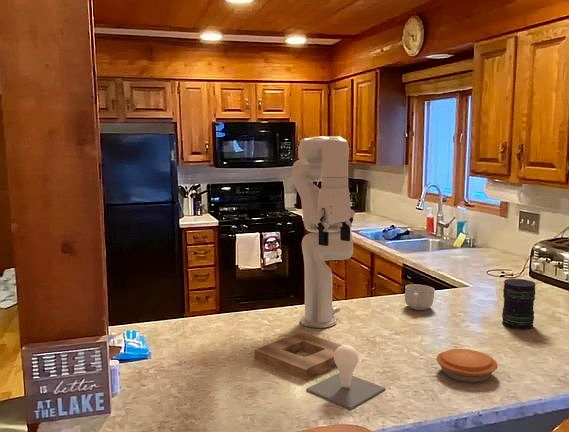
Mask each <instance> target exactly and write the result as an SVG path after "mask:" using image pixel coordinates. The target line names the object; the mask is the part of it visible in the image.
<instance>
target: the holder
mask: <svg viewBox="0 0 569 432" xmlns="http://www.w3.org/2000/svg"><path fill="white" fill-rule="evenodd" d="M342 345H343V344H340V343H337V342H334V341H331V340H327V339H325V338H322V337H319V336H317V335H313V334H309V333H306V332H303V331H301V332H299V333H296V334H293V335H289V336H287V337H284V338H282V339H278V340H276V341H273V342H271V343H269V344H266V345H263V346H260V347H257V348H255V349H253V351H254V355H253V356H254V360H255V361H258V362H259V363H261V364H262V363H263V364H264V365H267V366H270V367H271V368H275V369H277V370H279V371H282V372H284V373H287V374H288V375H291V376H293V377H296V378H299V379H301V380H304V381H307V380H308V381H309V380H310V379H312V378H314V377H317V376H318V375H321V374H323V373H325V372H328V371H330V370H331V369H333V368H335V367H337V365H336V363H335V361H334V353H335V351H336V349H337V348H338V347H340V346H342ZM300 352H306V353H308V354H310V355H307V356H305V357H304V356H301V355H298V353H300Z"/></svg>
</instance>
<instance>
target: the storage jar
mask: <svg viewBox="0 0 569 432" xmlns="http://www.w3.org/2000/svg"><path fill="white" fill-rule="evenodd" d="M503 284H504V285H503V290H502V291H503V294H502V295H503V307H502V316H501V317H502V318H501V319H502V322H501V323H502V325H503V327H505V328H507V329H511V330H517V331H529V330H530V331H531V330H532V329H534V320H535V316H534V315H535V311H534V306H535V305H534V303H535V299H536V283H535V282H534V281H532V280H530V279H529V280H528V279H525V278H524V279H521V278H507V279H504V281H503Z"/></svg>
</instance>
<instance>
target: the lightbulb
mask: <svg viewBox="0 0 569 432" xmlns="http://www.w3.org/2000/svg"><path fill="white" fill-rule="evenodd" d="M341 345H342V346H340V347H338V348H337V349H336V351H335V353H334V361H335V363H336V365H337V366H336V367H337V370H338V373H340V378H341V385H342V386H343V387H344V388H348V387H350V386H351V379H352V376H354V370H355V368H356V367H357V365H358V362H359V360H360V359H359V354H358V351H357V350H356V348H355V347H354V346H352V345H350V344H341Z"/></svg>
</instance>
